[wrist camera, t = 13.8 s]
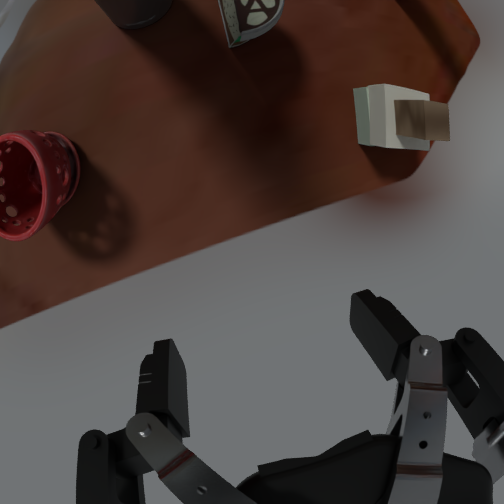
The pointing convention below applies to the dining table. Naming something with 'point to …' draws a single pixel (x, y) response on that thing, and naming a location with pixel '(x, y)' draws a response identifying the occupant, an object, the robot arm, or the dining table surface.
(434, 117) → the walnut block
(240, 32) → the food container
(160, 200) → the dining table surface
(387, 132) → the tower top
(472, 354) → the robot arm
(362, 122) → the tower base
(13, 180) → the plant pot
